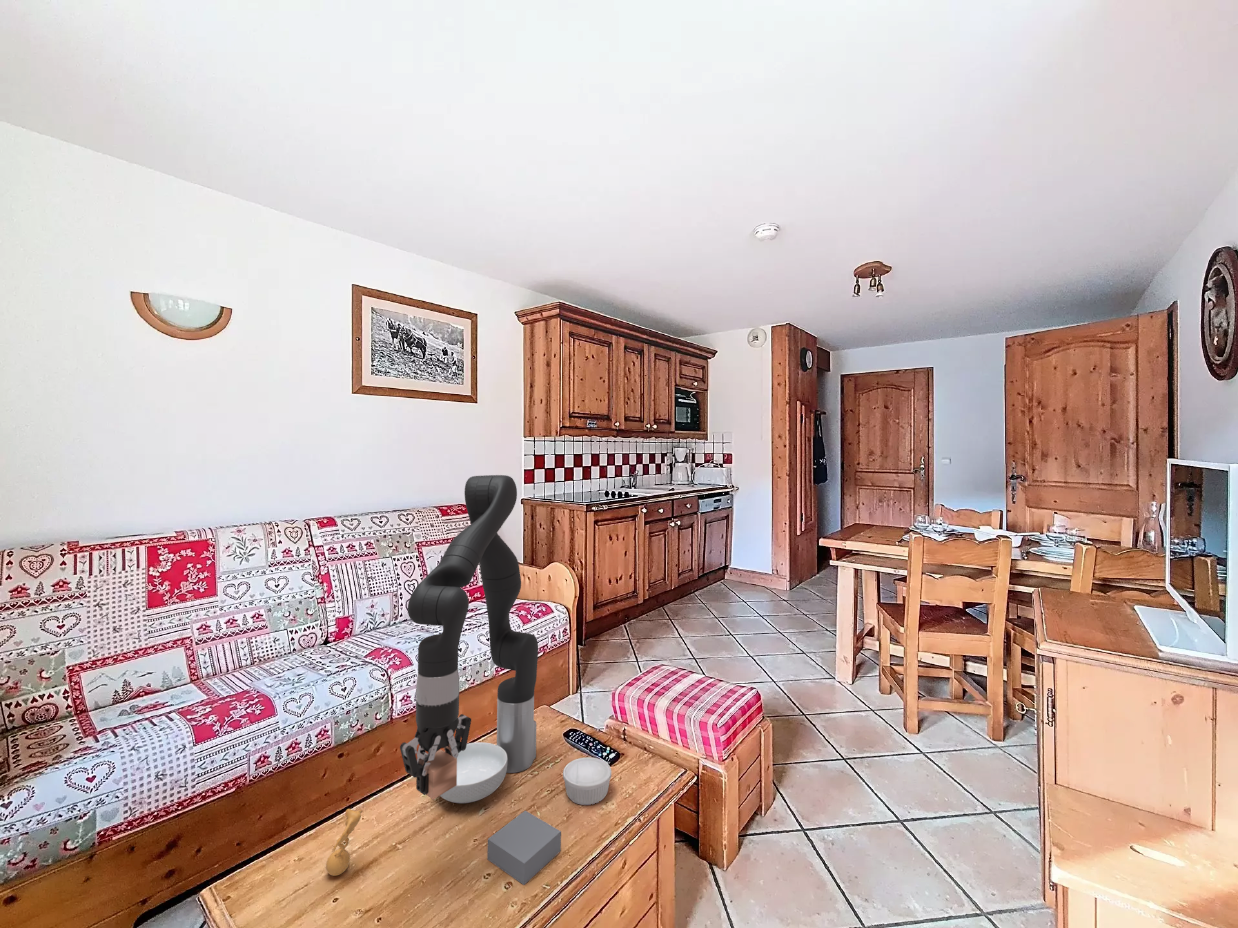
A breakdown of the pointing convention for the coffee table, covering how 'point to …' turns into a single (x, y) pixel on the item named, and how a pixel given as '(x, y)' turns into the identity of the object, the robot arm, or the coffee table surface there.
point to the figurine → (341, 856)
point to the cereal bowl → (478, 772)
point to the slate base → (524, 846)
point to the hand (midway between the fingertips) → (436, 783)
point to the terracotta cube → (442, 774)
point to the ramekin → (587, 780)
